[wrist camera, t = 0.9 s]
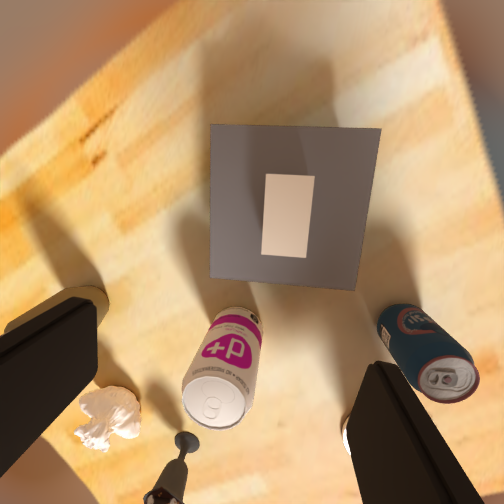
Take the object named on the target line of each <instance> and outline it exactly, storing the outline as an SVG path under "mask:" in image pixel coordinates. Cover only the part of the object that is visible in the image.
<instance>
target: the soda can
mask: <svg viewBox="0 0 504 504" xmlns="http://www.w3.org/2000/svg"><path fill="white" fill-rule="evenodd" d="M377 332H378V334H379V336H380V338H381V340H382V341H383V343H384V344H385V346H386V347H387V349H388V350H389V352H390V354H391V355H392V357H393V358H394V360H395V361H396V363H397V365H398V366H399V368H400V369H401V371H402V372H403V374H404V375H405V377H406V379H407V380H408V382H409V383H410V384H411V385H412V386H413V387H414V388H415V389H416V390H418V391H420V392H421V393H423V394H424V395H425V396H426V397H427V398H429V399H430V400H432V401H435V402H438V403H444V404H450V403H456V402H460V401H463V400H465V399H467V398H468V397H470V396H471V395H472V394H473V393H474V392H475V391H476V389H477V387H478V385H479V381H480V376H479V372H478V370H477V368H476V367H475V366H474V362H473V359H472V357H471V355H470V354H469V352H468V351H467V350H466V349H465V348H464V347H462V346H461V345H460V344H459V343H458V342H457V341H456V340H455V339H454V338H452V337H451V336H450V335H449V334H448V333H447V332H446V331H445V330H444V329H443V328H441V327H440V326H439V325H438V324H437V323H436V322H435V321H434V320H433V319H431V318H430V317H429V316H428V315H427V314H426V313H425V312H424V311H423V310H421V309H420V308H418V307H416V306H414V305H410V304H397V305H392V306H390V307H388V308H386V309H385V310H384V311H383V312H382V314H381V315H380V317H379V319H378V322H377Z"/></svg>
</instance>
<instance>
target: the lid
mask: <svg viewBox="0 0 504 504" xmlns="http://www.w3.org/2000/svg"><path fill="white" fill-rule="evenodd" d="M380 135H381V129H377V128H339V127H300V126H262V125H224V124H211V150H210V278H218V279H229V280H240V281H252V282H263V283H274V284H285V285H296V286H307V287H318V288H329V289H340V290H351V291H355V286H356V280H357V274H358V268H359V262H360V256H361V250H362V244H363V238H364V232H365V226H366V220H367V214H368V207H369V201H370V195H371V189H372V183H373V177H374V171H375V165H376V159H377V153H378V147H379V141H380Z"/></svg>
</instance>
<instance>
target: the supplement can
mask: <svg viewBox="0 0 504 504" xmlns="http://www.w3.org/2000/svg"><path fill="white" fill-rule="evenodd" d="M262 336H263V328H262V323H261V322H260V320H259V319H258V317H257V316H256V315H255V314H254V313H252V312H251V311H250V310H247V309H245V308H242V307H229V308H226V309H223V310H222V311H221V312H219V313H218V314H217V315H216V317H215V319H214V321H213V322H212V324H211V326H210V328H209V330H208V332H207V334H206V336H205V338H204V340H203V342H202V344H201V345H200V347H199V349H198V351H197V353H196V355H195V357H194V359H193V361H192V363H191V365H190V367H189V369H188V371H187V372H186V374H185V376H184V378H183V382H182V404H183V407H184V410H185V412H186V413H187V414H188V416H189V417H190V419H192V420H193V421H194V422H196V423H197V424H198V425H200V426H202V427H205V428H207V429H210V430H219V431H221V430H227V429H231V428H233V427H235V426H236V425H238V424H239V423H240V422H241V421H242V419H243V418H244V417H245V415H246V414H247V413H248V411H249V410H250V408H251V407H252V404H253V399H254V393H255V386H256V379H257V372H258V365H259V358H260V351H261V343H262Z"/></svg>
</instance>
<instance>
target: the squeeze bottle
mask: <svg viewBox="0 0 504 504" xmlns="http://www.w3.org/2000/svg"><path fill="white" fill-rule="evenodd" d="M73 296H76V297H80V298H85V299H90V300H92V301H93V304H94V305H95V306H96V307H97V328H98V326H99V325H100V323H101V322H102V320H103V318H104V317H105V315H106V313H107V312H108V310H109V301H108V298H107V296H106V295H105V293H104V292H103V291H101V290H100V289H99V288H97V287H94V286H83V287H73V288H65V289H64V290H62V291H60V292H58V293H57V294H55V295H53V296H52V297H50V298H49V299H47V300H45V301H44V302H42V303H40V304H39V305H37V306H35V307H34V308H32V309H31V310H29V311H27V312H26V313H24V314H22V315H21V316H19V317H18V318H16V319H14V320H13V321H11V322H9V323H8V324H7V326H6V328H5V330H4V334H6V333H8V332H10V331H11V330H13V329H15V328H17V327H18V326H20V325H22V324H24V323H26V322H27V321H29V320H31V319H33V318H34V317H36V316H38V315H40V314H42V313H43V312H45V311H47V310H49V309H50V308H52V307H54V306H56V305H58V304H59V303H61V302H63V301H65V300H66V299H68V298H70V297H73ZM4 334H2V335H4ZM2 335H1V336H2ZM1 336H0V337H1Z"/></svg>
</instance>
